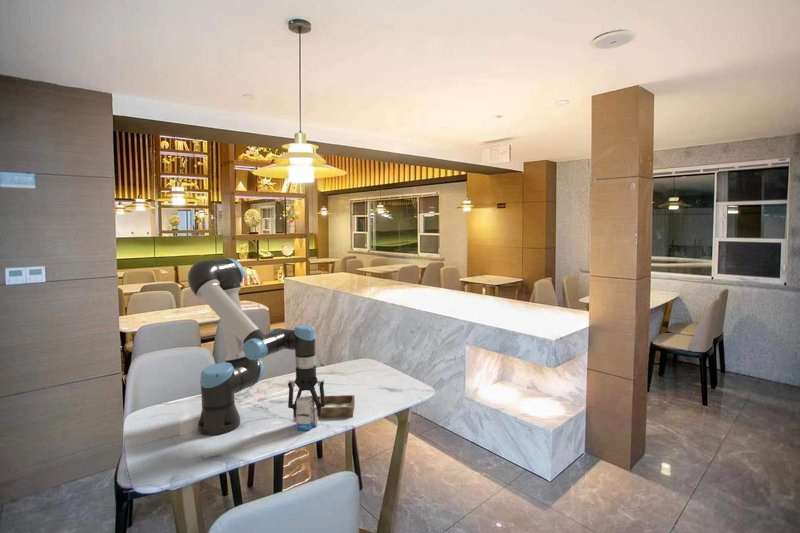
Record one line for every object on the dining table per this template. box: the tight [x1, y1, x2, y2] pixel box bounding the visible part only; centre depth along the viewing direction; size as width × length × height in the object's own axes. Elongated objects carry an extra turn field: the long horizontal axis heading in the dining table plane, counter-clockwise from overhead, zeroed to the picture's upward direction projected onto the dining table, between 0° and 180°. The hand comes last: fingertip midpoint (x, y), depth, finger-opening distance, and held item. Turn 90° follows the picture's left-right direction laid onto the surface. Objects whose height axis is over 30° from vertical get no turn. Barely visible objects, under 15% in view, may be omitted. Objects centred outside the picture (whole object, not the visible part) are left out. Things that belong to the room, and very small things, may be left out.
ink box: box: [296, 391, 316, 431], centre depth 168 cm, size 9×5×12 cm, turn 168°
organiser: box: [317, 394, 356, 419], centre depth 182 cm, size 20×13×4 cm, turn 93°
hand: (307, 424), depth 169 cm, fingers open, 6 cm apart
